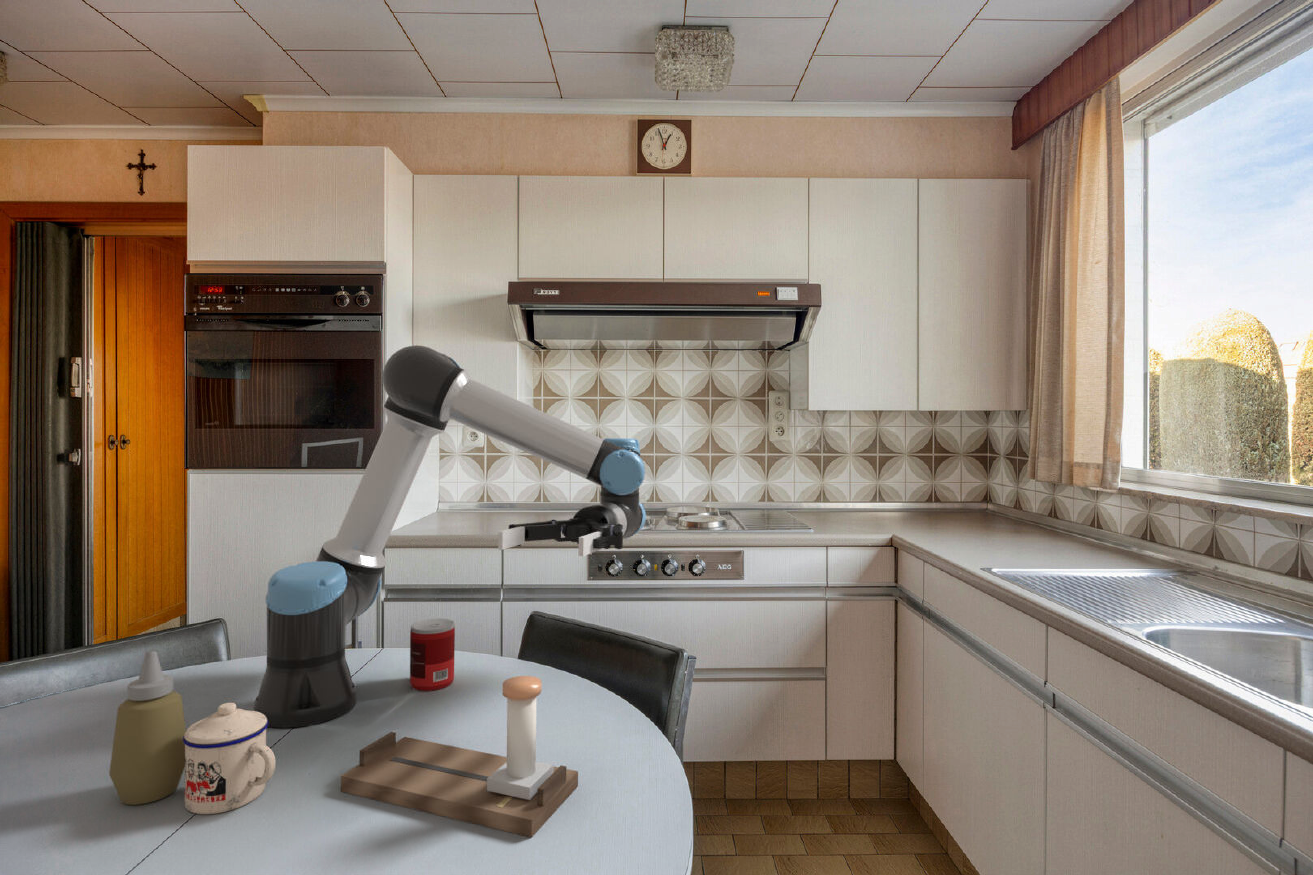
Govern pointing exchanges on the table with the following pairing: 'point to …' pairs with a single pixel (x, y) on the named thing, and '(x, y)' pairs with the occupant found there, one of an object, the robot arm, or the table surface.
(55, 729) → the table surface
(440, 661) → the canned food
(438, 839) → the table surface
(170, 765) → the squeeze bottle
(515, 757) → the fader
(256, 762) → the teacup with lid
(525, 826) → the fader track
